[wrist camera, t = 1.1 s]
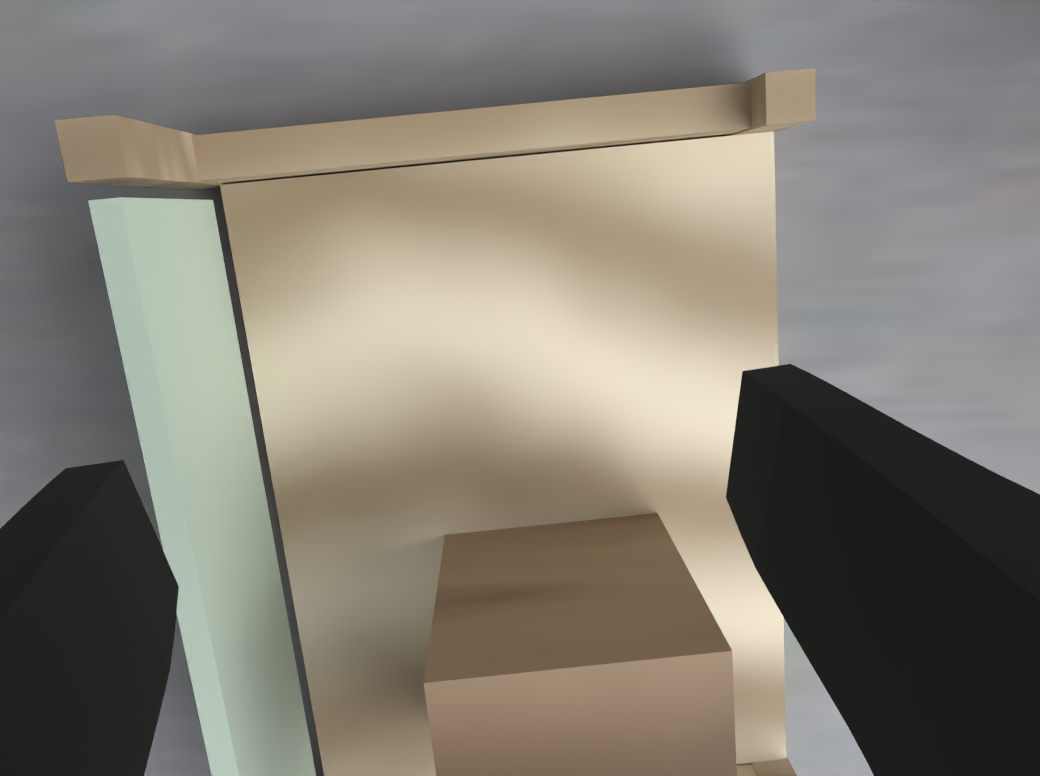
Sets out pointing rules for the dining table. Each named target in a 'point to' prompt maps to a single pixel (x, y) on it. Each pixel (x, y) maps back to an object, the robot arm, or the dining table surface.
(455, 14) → the dining table surface
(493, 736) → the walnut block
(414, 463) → the cart bed
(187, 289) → the panel
